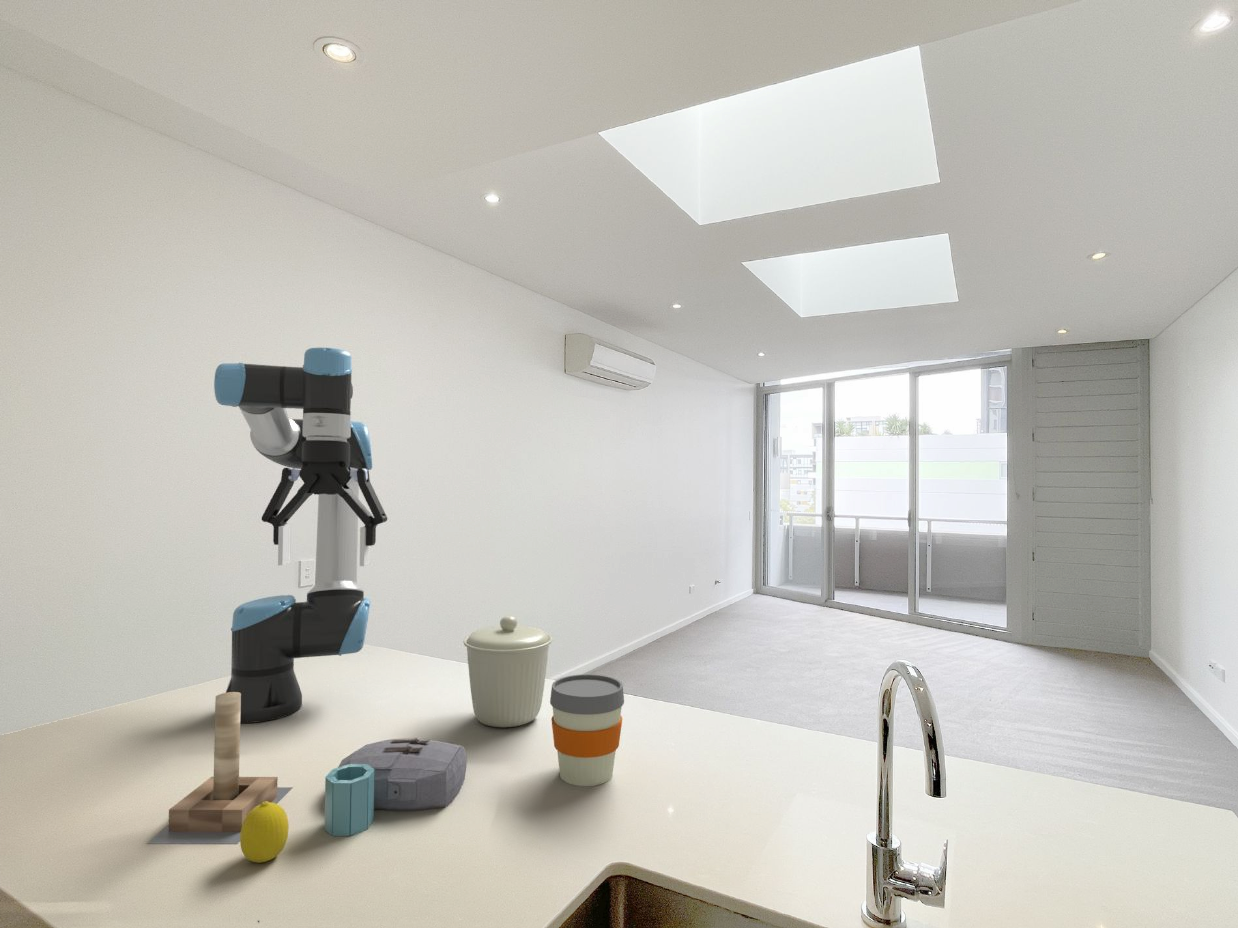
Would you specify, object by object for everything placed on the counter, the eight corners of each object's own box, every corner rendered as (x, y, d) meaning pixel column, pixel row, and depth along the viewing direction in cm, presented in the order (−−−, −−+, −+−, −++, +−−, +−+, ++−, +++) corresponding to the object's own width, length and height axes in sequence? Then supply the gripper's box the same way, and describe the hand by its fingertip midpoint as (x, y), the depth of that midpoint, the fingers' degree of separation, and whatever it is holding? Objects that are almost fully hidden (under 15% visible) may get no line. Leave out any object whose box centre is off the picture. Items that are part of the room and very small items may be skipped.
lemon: (251, 852, 89) (252, 792, 89) (294, 851, 90) (295, 790, 90) (231, 877, 84) (232, 813, 84) (277, 875, 84) (278, 811, 84)
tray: (215, 792, 106) (215, 786, 106) (292, 792, 106) (292, 787, 106) (146, 849, 90) (146, 843, 90) (237, 849, 90) (237, 843, 90)
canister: (568, 714, 141) (570, 614, 141) (510, 743, 126) (512, 630, 126) (504, 698, 151) (505, 604, 151) (443, 722, 136) (444, 618, 136)
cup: (336, 818, 98) (337, 763, 98) (377, 818, 98) (378, 763, 98) (318, 841, 92) (319, 782, 92) (362, 841, 92) (363, 782, 92)
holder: (211, 796, 103) (211, 776, 103) (277, 796, 103) (277, 776, 103) (168, 831, 93) (168, 809, 93) (241, 831, 93) (242, 809, 93)
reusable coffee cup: (638, 773, 114) (639, 685, 114) (585, 799, 105) (586, 702, 105) (586, 751, 123) (588, 669, 123) (533, 773, 113) (534, 684, 113)
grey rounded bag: (474, 776, 113) (357, 772, 114) (474, 726, 113) (358, 722, 114) (447, 823, 98) (312, 818, 98) (448, 765, 98) (313, 761, 99)
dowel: (220, 807, 99) (223, 691, 100) (242, 807, 99) (245, 691, 100) (207, 818, 96) (210, 698, 96) (230, 818, 96) (233, 699, 96)
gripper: (240, 437, 110) (238, 566, 110) (393, 439, 111) (391, 568, 111) (263, 439, 118) (261, 560, 118) (406, 441, 118) (404, 562, 118)
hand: (324, 564), depth 114 cm, fingers open, 13 cm apart
